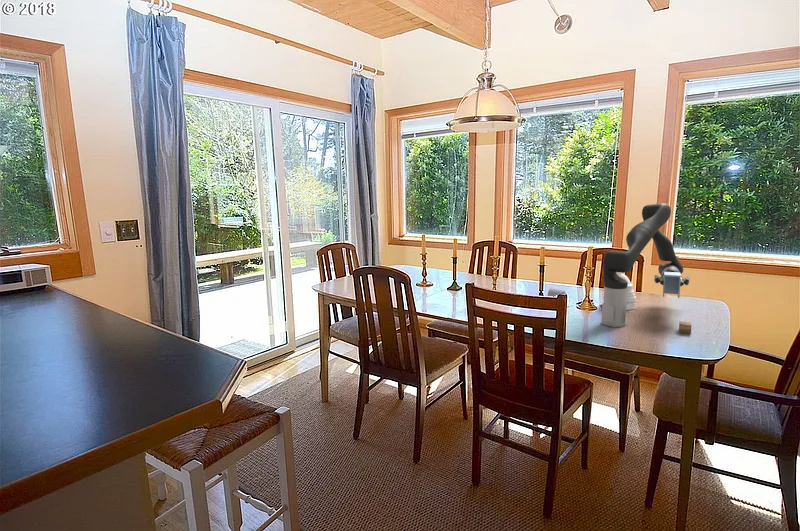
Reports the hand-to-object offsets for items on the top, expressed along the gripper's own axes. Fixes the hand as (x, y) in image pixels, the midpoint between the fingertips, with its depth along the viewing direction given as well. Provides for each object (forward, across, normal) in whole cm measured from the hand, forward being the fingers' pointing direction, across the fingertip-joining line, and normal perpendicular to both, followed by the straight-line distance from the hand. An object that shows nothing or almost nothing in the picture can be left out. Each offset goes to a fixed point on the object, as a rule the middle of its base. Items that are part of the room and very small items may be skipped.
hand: (671, 283), depth 188 cm
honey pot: (-20, -21, +18) cm, 34 cm away
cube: (+12, +5, +18) cm, 22 cm away
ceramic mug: (-17, -52, +18) cm, 57 cm away
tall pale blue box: (-2, 0, +6) cm, 6 cm away
